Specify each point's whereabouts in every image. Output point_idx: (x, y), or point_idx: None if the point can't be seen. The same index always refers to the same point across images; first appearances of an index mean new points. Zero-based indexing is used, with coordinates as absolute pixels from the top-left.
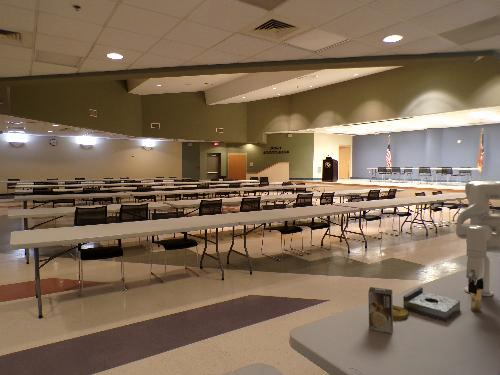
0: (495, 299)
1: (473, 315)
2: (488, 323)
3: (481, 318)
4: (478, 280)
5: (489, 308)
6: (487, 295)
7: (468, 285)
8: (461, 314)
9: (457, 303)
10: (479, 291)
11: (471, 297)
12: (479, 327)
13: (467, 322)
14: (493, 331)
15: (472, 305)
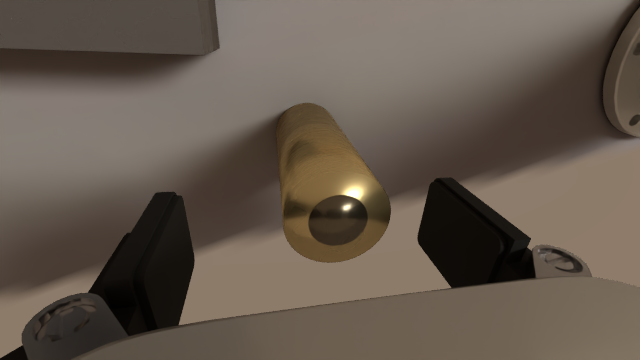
0: (567, 161)
1: (199, 147)
2: None
3: (190, 192)
4: (487, 274)
5: (395, 178)
6: (612, 120)
7: (120, 253)
8: (140, 83)
9: (120, 51)
10: (305, 250)
11: (290, 147)
12: (32, 223)
13: (30, 156)
14: (58, 276)
15: (281, 132)
